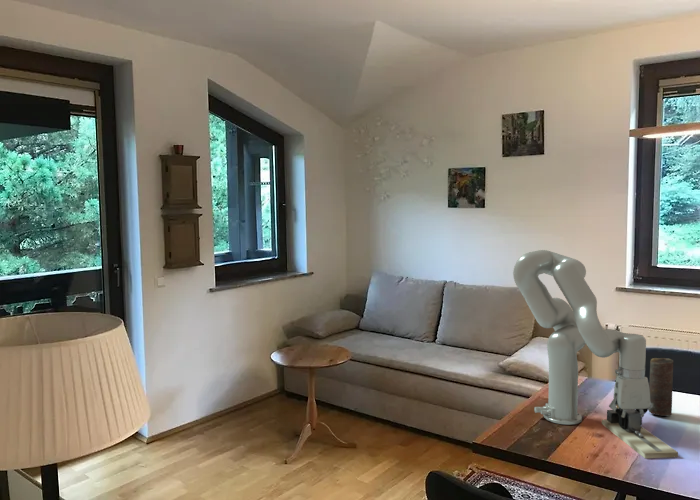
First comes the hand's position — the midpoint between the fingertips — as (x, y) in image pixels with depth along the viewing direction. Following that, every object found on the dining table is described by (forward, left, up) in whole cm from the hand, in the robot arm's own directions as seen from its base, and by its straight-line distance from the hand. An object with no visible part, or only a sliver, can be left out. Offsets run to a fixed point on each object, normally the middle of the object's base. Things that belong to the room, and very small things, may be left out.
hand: (630, 427), depth 186 cm
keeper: (0, +7, -1) cm, 7 cm away
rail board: (0, -4, -2) cm, 5 cm away
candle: (+19, +15, -2) cm, 24 cm away
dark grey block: (0, -2, -1) cm, 2 cm away
